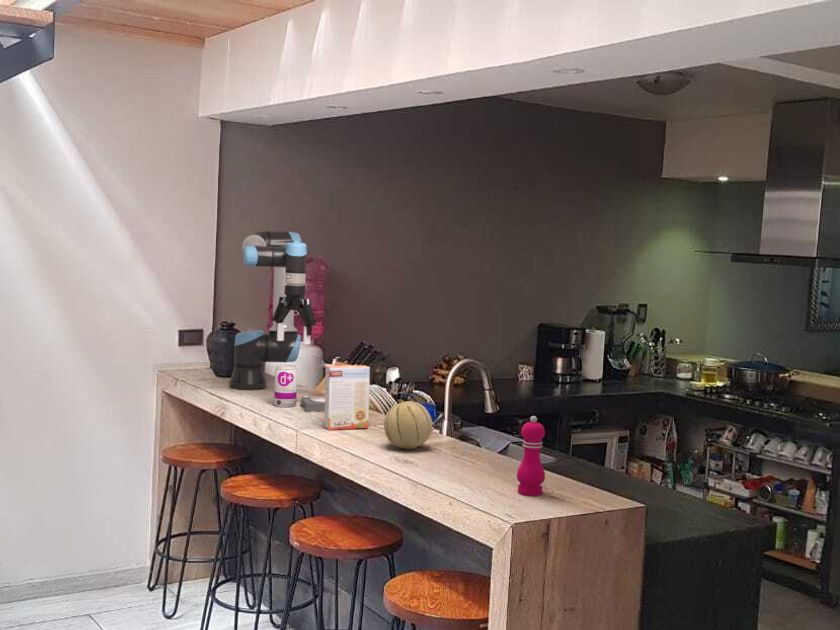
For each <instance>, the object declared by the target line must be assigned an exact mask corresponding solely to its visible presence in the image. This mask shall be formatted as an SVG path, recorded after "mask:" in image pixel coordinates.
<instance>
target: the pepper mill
mask: <svg viewBox="0 0 840 630" xmlns="http://www.w3.org/2000/svg"><path fill="white" fill-rule="evenodd" d="M520 430H521V431H520V435H521V437H522V438H523V440H522V447H523V458H522V460H521V463H520V464H519V466H518V468H517V471H516V479H517V481H518V482H519V484H518V485H517V493H518V494H519V495H522V496H527V497H538V496H541V495H543V486H542V484H543V483H544V482H545V479H546V473H545V470H544V467H543V464H542V461H541V457H540V456H541V454H540V453H541V448H543V441H542V440H543V438H544V437H545V434H546V430H545V427H544V425H542V424H541V423H540V422H538V418H537V416H535V415H532V416H530V419H529V421H527V422H526V423H524V424H523V426H522V427H521V429H520Z"/></svg>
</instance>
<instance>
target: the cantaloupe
mask: <svg viewBox="0 0 840 630" xmlns="http://www.w3.org/2000/svg"><path fill="white" fill-rule="evenodd" d="M397 402H398V403H396V404H394V405H393V406H391V407H390V408H389V409H388V410H387V412H386V414H385V416H384V420H383V421H384V422H383V430H384V433H385V436H386V438H387V440H388V441H389V442H390V443H391V444H392V445H393V446H395V447H396V448H400V449H403V448H405V449H404V450H414V449H416V448H418V447H419V446H422V445H424V444H425V443H426V442H427V441H428V440H429V439H430V438H431V437H430V436H431V435H432V432H433V420H432V416H431V415H430V413H429V411H428V410H427V408H426V407H425V406H424V405H422V404H421V403H419V402H416V401H412V400H407V401H404V400H403V399H401V398H400V399H398V400H397ZM413 448H414V449H413Z"/></svg>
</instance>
